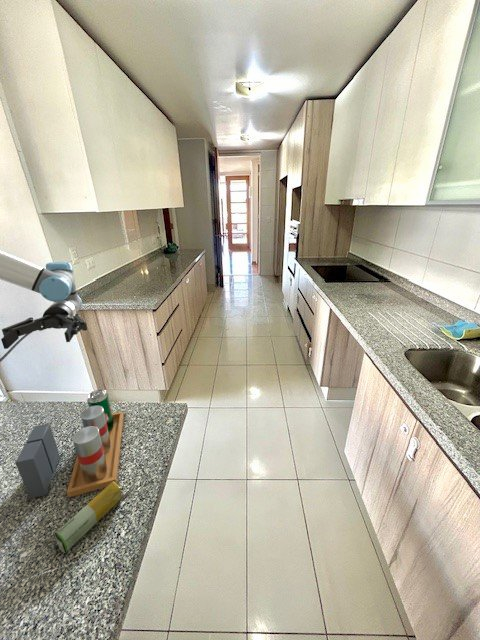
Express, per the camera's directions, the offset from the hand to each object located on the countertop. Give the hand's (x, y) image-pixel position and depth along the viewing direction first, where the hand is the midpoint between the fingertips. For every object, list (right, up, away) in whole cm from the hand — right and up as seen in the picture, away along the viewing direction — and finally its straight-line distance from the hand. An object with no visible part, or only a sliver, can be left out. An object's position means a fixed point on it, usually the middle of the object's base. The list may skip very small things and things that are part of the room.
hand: (36, 340), depth 67 cm
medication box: (+23, -35, -15) cm, 45 cm away
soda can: (+14, -26, +8) cm, 31 cm away
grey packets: (+7, -32, -6) cm, 33 cm away
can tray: (+16, -29, +1) cm, 33 cm away
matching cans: (+17, -30, -2) cm, 35 cm away
